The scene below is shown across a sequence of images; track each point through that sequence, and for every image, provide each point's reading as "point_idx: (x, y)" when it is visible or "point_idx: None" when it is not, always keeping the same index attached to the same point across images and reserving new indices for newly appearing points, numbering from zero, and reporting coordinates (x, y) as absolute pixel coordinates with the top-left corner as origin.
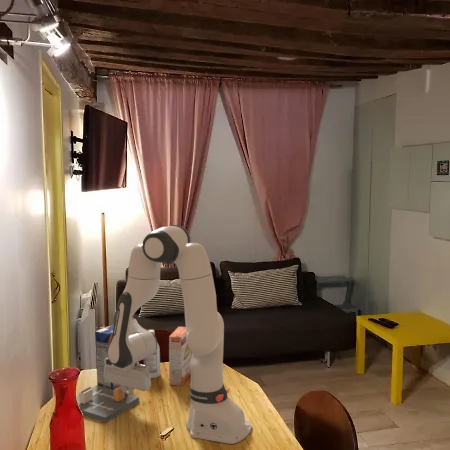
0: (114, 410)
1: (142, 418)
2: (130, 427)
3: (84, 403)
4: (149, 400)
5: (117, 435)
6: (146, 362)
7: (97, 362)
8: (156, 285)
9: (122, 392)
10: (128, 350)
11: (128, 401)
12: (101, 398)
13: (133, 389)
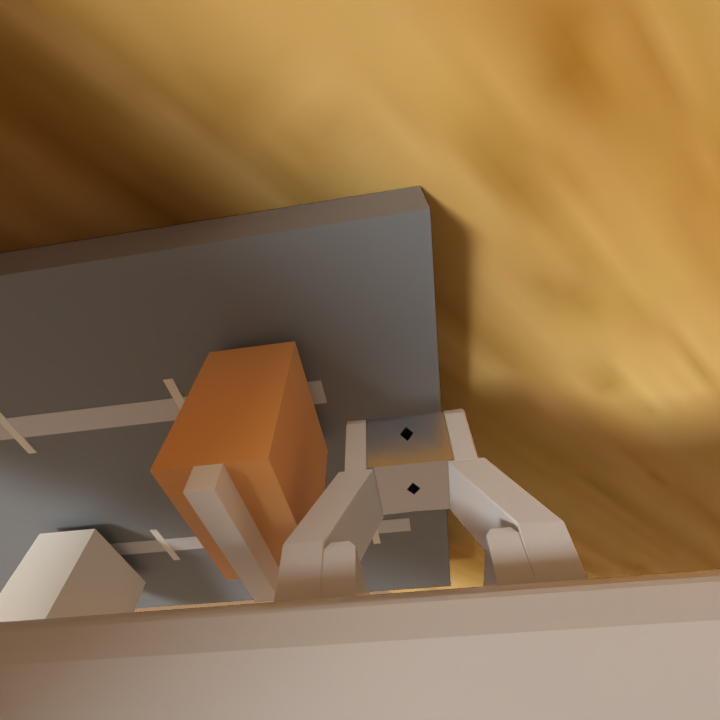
0: (425, 524)
1: (681, 402)
2: (646, 508)
3: (143, 581)
4: (530, 25)
5: (611, 572)
6: None
7: None
8: None
9: (302, 469)
10: None
11: (401, 376)
12: (114, 475)
13: (535, 508)
